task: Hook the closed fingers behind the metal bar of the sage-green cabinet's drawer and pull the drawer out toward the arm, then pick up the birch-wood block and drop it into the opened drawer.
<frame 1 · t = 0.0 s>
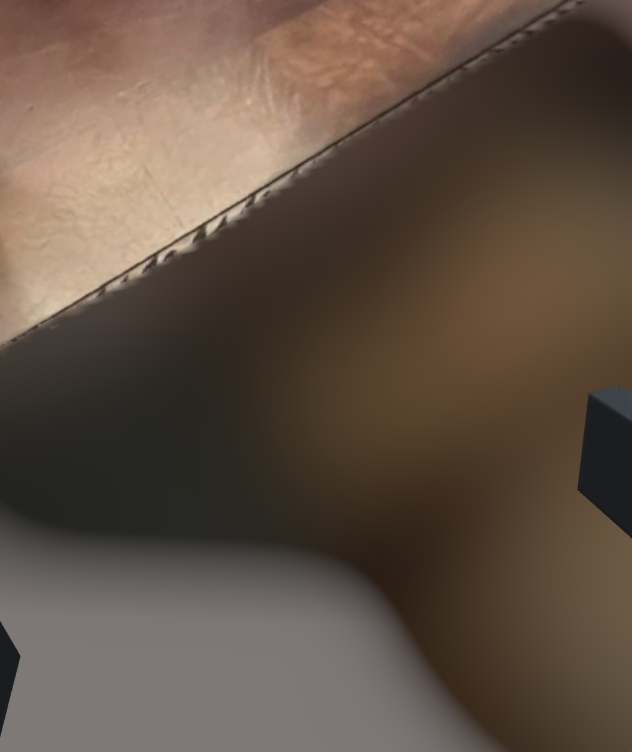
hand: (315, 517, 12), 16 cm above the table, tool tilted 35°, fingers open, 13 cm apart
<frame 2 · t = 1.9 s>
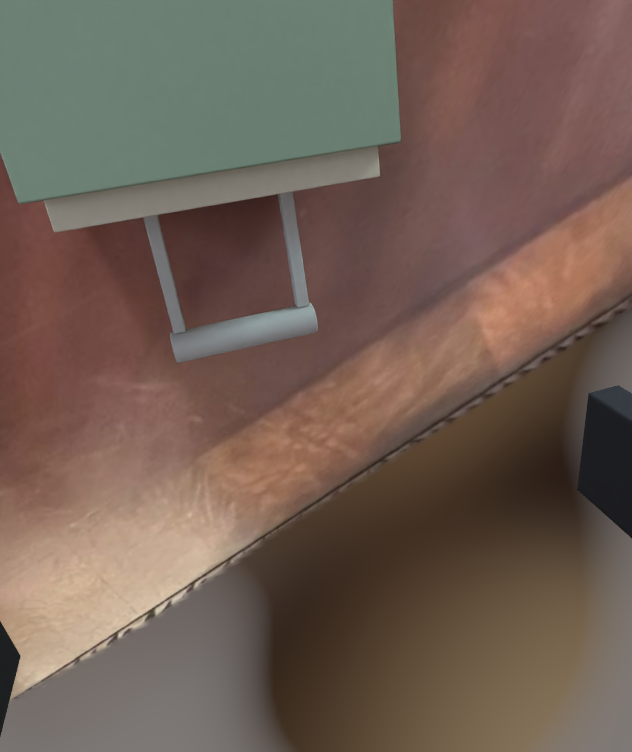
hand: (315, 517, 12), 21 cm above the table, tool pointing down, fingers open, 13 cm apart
drawer: (192, 73, 22), point 4 cm above the table, slide at 0.0 cm, touching cabinet
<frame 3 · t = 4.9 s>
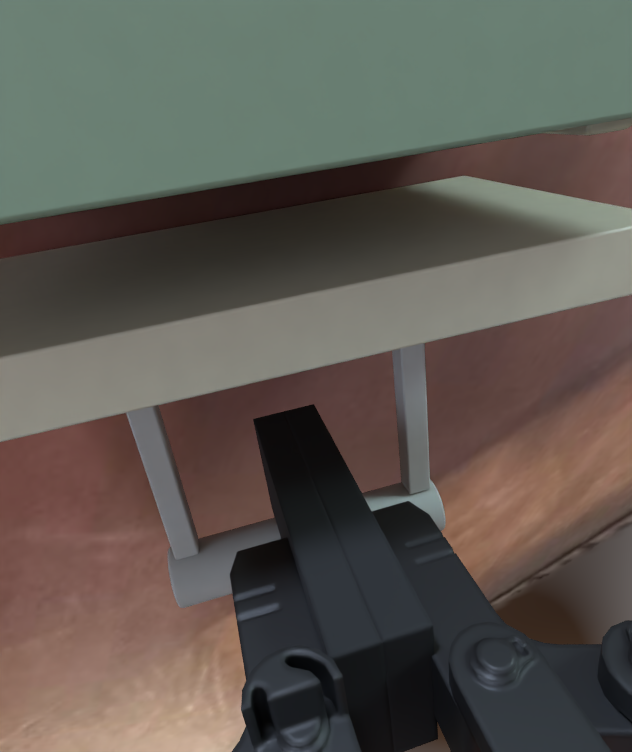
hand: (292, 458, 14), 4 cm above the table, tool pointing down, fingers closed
drawer: (221, 37, 9), point 4 cm above the table, slide at 1.7 cm, touching gripper
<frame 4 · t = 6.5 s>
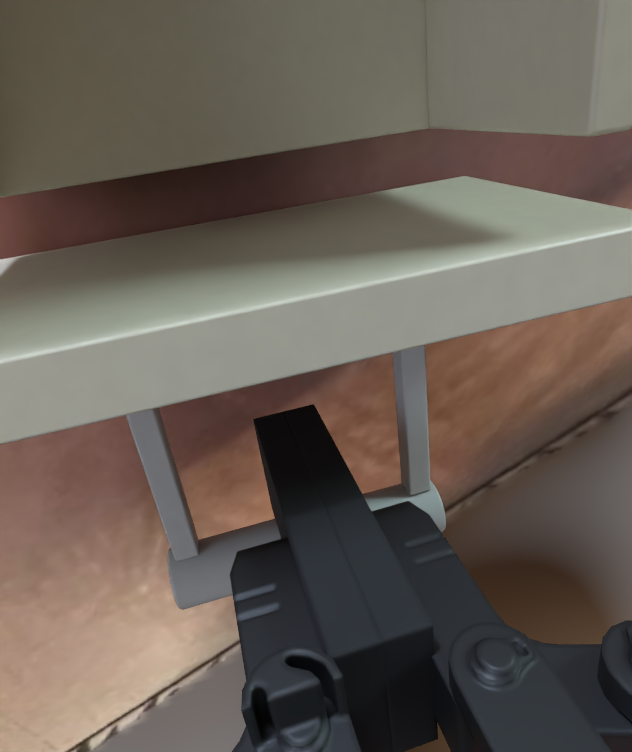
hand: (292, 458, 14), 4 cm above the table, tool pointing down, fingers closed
drawer: (220, 38, 9), point 4 cm above the table, slide at 8.6 cm
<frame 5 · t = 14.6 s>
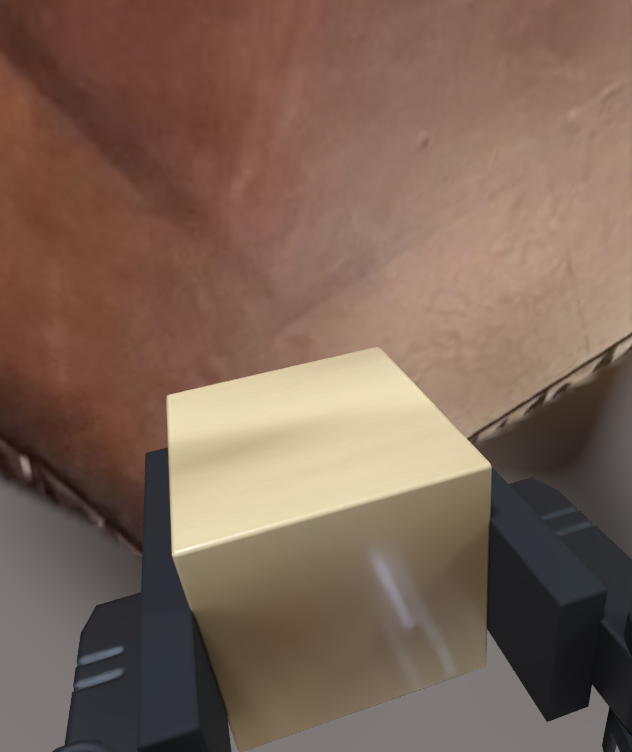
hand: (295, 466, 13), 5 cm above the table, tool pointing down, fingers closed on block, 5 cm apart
block: (292, 457, 14), point 4 cm above the table, touching gripper
when the fingers open (8 cm above the table, at t = 20.5 s): block drops 5 cm, resting on drawer.
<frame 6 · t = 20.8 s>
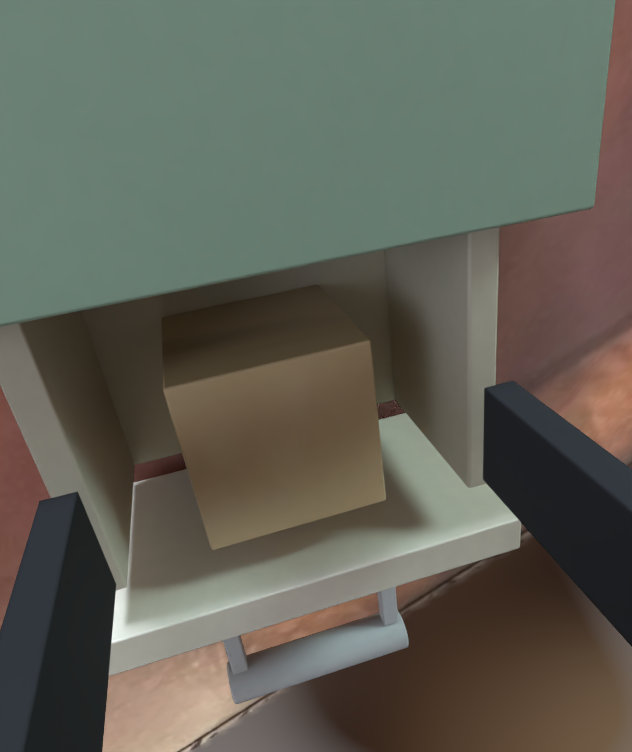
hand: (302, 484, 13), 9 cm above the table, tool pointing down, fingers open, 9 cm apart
drawer: (272, 412, 16), point 4 cm above the table, slide at 8.9 cm, touching block
block: (256, 370, 18), point 2 cm above the table, touching drawer
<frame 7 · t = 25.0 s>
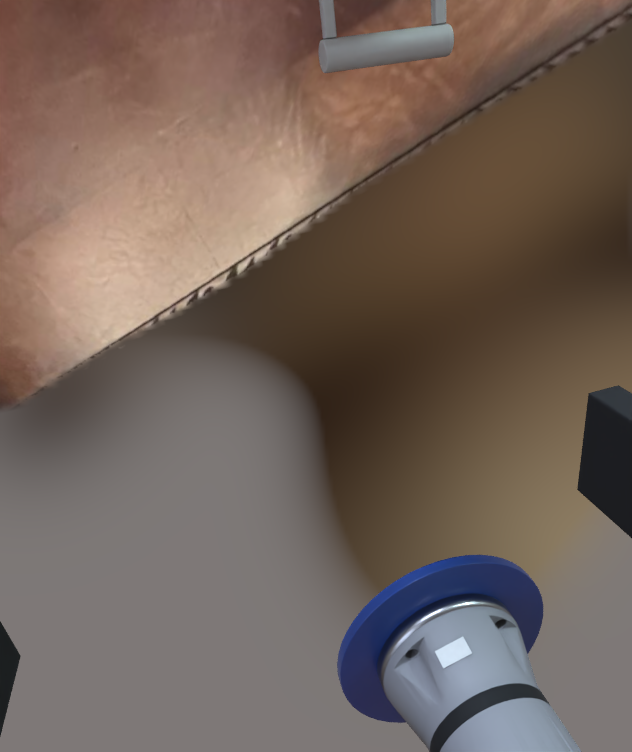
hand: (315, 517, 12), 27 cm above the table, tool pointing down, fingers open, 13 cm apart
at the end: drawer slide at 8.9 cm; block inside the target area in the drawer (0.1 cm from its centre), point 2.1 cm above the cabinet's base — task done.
